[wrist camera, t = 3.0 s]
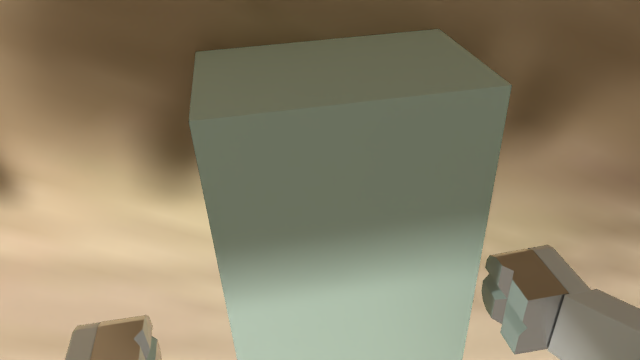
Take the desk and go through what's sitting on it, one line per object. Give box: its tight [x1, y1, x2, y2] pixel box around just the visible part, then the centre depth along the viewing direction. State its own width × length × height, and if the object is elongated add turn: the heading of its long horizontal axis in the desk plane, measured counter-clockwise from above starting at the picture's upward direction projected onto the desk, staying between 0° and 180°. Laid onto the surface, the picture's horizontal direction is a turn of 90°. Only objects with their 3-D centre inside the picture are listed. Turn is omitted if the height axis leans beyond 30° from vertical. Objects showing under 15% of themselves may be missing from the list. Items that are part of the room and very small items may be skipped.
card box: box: [189, 29, 512, 360], centre depth 13 cm, size 6×9×4 cm, turn 2°
